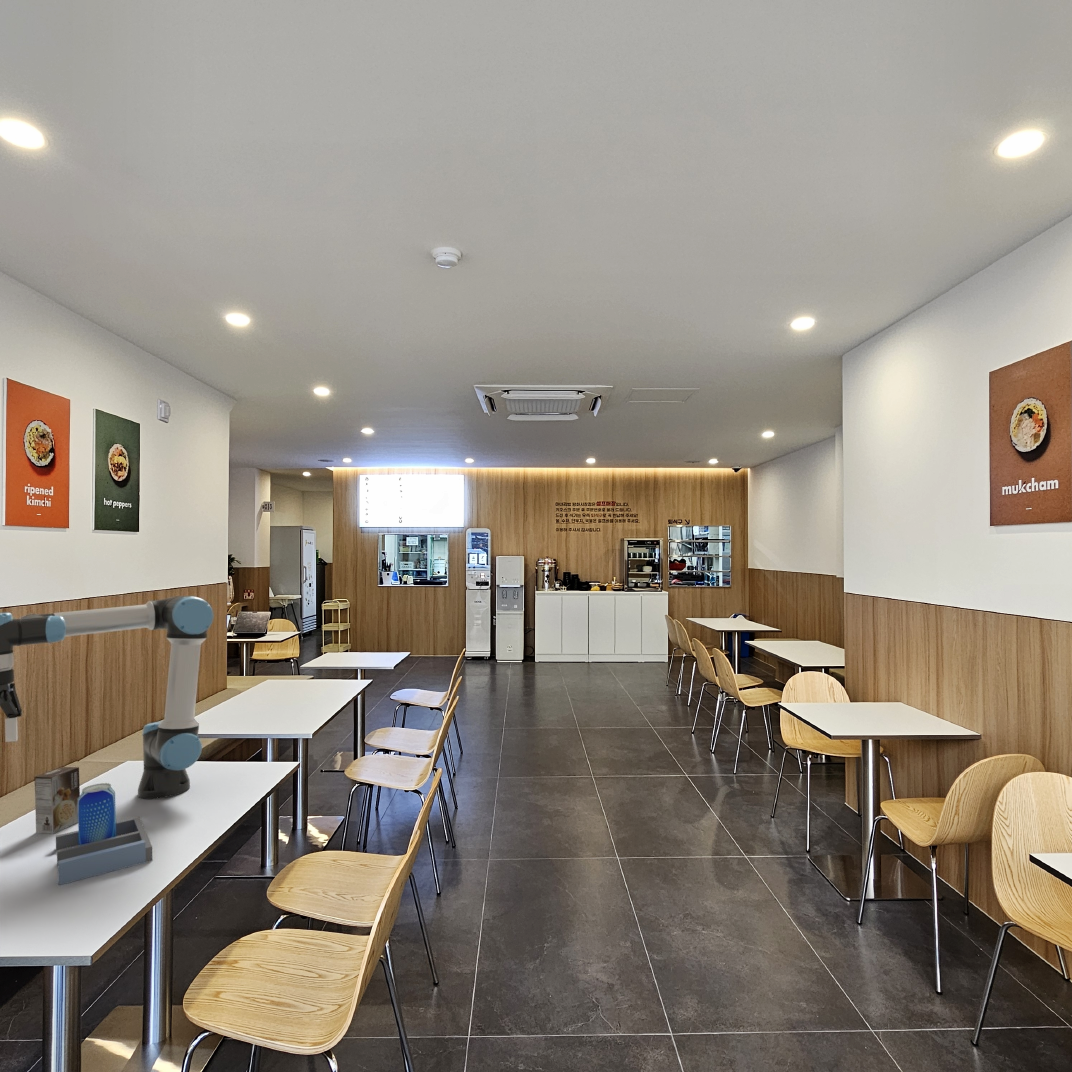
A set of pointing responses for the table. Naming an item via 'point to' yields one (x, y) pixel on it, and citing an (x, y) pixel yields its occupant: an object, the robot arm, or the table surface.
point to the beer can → (96, 813)
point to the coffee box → (56, 799)
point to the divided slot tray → (102, 852)
